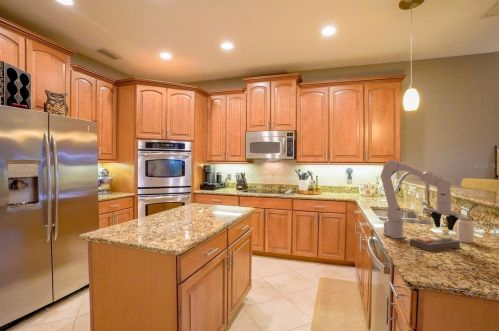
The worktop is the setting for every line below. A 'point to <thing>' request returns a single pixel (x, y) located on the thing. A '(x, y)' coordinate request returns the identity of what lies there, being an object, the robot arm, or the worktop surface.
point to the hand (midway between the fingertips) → (444, 228)
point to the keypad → (435, 244)
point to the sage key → (444, 238)
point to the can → (465, 230)
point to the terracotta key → (424, 240)
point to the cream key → (434, 239)
